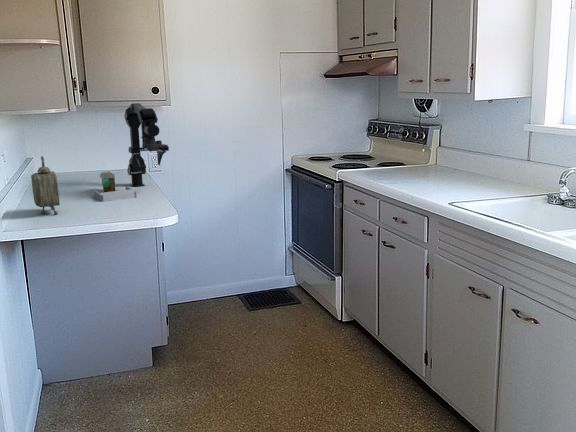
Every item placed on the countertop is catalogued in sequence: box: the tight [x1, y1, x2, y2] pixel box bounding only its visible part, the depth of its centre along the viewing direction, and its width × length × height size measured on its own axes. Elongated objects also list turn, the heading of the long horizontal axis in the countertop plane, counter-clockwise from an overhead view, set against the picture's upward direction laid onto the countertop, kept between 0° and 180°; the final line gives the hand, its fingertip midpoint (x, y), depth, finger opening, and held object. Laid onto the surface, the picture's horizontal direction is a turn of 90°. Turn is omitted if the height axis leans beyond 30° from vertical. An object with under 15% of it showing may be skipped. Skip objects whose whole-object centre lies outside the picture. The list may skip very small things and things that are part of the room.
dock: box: [92, 185, 137, 202], centre depth 283 cm, size 15×17×4 cm
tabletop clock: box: [30, 155, 61, 216], centre depth 248 cm, size 14×9×25 cm, turn 28°
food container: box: [99, 170, 116, 193], centre depth 294 cm, size 12×6×10 cm, turn 27°
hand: (149, 166), depth 285 cm, fingers open, 9 cm apart
